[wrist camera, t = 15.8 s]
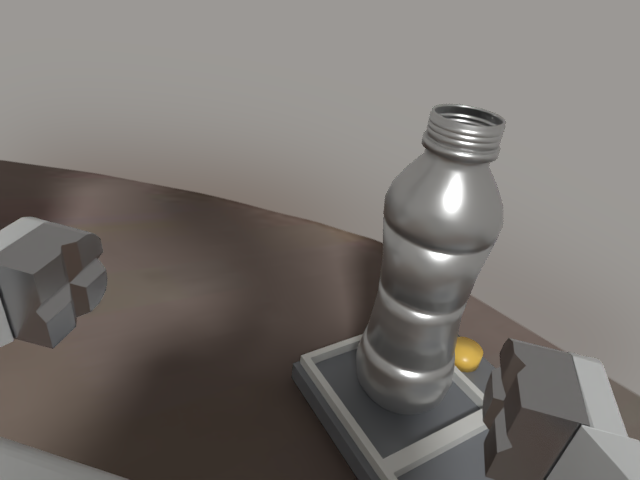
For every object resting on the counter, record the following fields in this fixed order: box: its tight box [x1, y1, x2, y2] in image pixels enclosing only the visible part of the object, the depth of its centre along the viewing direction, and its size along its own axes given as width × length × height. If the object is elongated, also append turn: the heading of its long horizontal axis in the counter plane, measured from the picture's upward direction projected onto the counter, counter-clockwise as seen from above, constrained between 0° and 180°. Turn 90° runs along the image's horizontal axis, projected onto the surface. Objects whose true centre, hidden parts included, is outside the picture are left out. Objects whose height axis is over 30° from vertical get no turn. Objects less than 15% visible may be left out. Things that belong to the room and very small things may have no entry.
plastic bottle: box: [356, 104, 506, 415], centre depth 29 cm, size 6×7×20 cm
